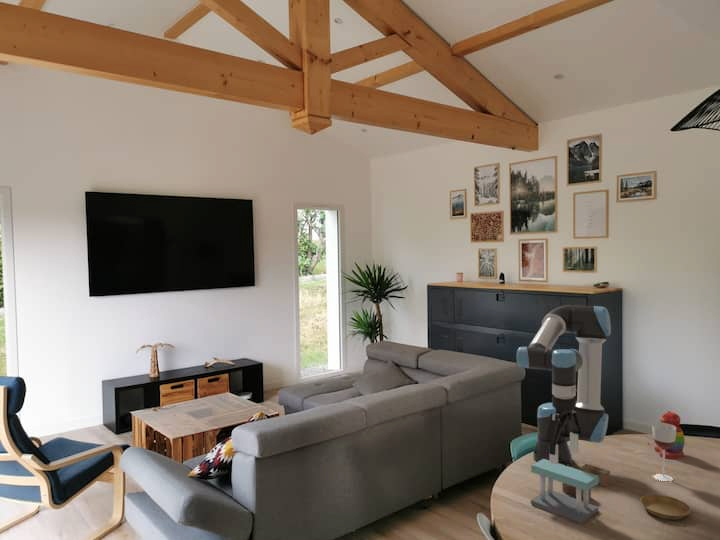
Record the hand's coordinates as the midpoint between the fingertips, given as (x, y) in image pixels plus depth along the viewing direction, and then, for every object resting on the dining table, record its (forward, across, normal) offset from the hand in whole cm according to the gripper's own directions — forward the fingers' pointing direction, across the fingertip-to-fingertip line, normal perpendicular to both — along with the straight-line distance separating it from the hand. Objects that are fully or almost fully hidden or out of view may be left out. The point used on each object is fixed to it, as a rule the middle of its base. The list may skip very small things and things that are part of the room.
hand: (564, 457), depth 184 cm
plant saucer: (+18, +21, -24) cm, 37 cm away
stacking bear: (+19, +75, -7) cm, 78 cm away
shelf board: (+7, 0, 0) cm, 7 cm away
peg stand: (+17, -1, 0) cm, 17 cm away
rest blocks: (+18, +19, +2) cm, 26 cm away
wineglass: (+18, +48, -14) cm, 54 cm away
